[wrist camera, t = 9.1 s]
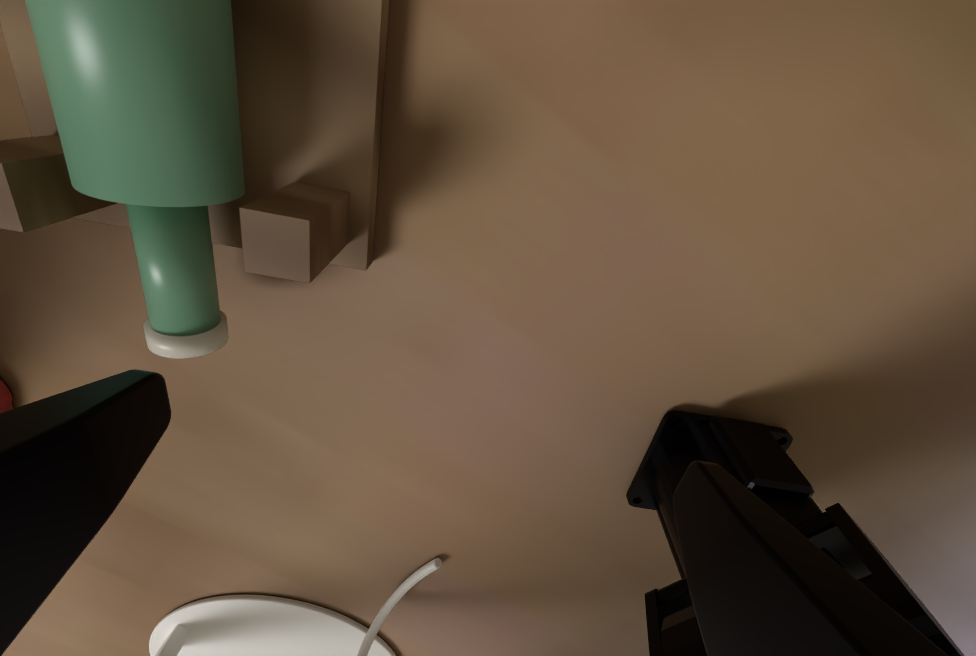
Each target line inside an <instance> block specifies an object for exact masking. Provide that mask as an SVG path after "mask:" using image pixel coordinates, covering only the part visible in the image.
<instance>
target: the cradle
mask: <svg viewBox="0 0 976 656" xmlns="http://www.w3.org/2000/svg"><path fill="white" fill-rule="evenodd" d="M231 9H232V22H233V36H234V49H235V63H236V76H237V90H238V103H239V117H240V130H241V144H242V157H243V171H244V185H245V193H244V195H243V196H241V197H240V198H238V199H236V200H233V201H230V202H226V203H221V204H215V205H208V212H209V221H210V230H211V239H212V243H216V244H222V245H227V246H233V247H239V248H243V259H244V272H249V273H255V274H261V275H266V276H272V277H278V278H283V279H289V280H294V281H300V282H306V283H311V281H312V280H313V279H314V278H315V277H316V276H317V275H318V274H319V273H320V272H321V271H322V270H323V269H324V268H325V267H326V266H327V265H328V264H333V265H338V266H344V267H349V268H355V269H360V270H367V269H368V267H369V266H370V265H371V263H372V261H373V245H374V230H375V215H376V199H377V184H378V168H379V153H380V138H381V122H382V107H383V92H384V76H385V61H386V45H387V30H388V15H389V0H231ZM0 23H1V27H2V30H3V34H4V38H5V41H6V45H7V48H8V52H9V55H10V59H11V63H12V66H13V70H14V73H15V77H16V80H17V84H18V88H19V91H20V95H21V98H22V102H23V105H24V109H25V113H26V116H27V120H28V123H29V127H30V130H31V134H32V137H29V138H20V139H11V140H2V141H0V228H1V229H7V230H13V231H18V232H27V231H30V230H33V229H36V228H40V227H43V226H46V225H49V224H53V223H56V222H59V221H62V220H66V219H69V218H72V217H73V218H78V219H84V220H89V221H95V222H100V223H106V224H111V225H117V226H122V227H128V228H131V227H130V222H129V217H128V212H127V207H126V204H123V203H117V202H111V201H106V200H101V199H97V198H94V197H90V196H88V195H85V194H82V193H80V192H79V191H77V190H76V189H74V188H73V186H72V184H71V180H70V176H69V172H68V168H67V164H66V160H65V156H64V152H63V148H62V144H61V140H60V137H59V133H58V129H57V125H56V121H55V117H54V113H53V109H52V105H51V101H50V97H49V93H48V89H47V85H46V81H45V77H44V73H43V70H42V66H41V62H40V58H39V54H38V50H37V46H36V42H35V38H34V34H33V30H32V26H31V22H30V18H29V14H28V10H27V6H26V3H25V0H0Z"/></svg>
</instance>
